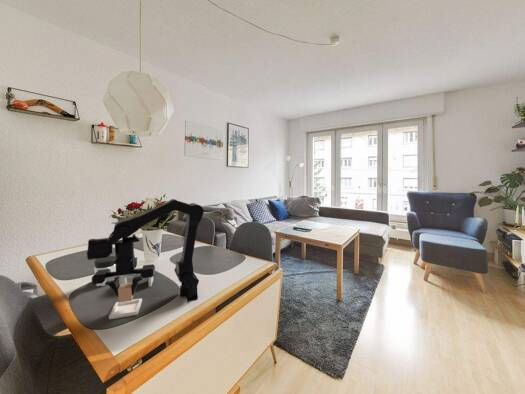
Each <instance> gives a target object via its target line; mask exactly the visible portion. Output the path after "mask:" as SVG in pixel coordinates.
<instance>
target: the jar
mask: <svg viewBox="0 0 525 394" xmlns="http://www.w3.org/2000/svg"><path fill="white" fill-rule="evenodd" d="M93 264H94V265H93V266H94V267H93V269H94V274H95V273H96V272H97V271H98V270H104V269H110V270H111V272H116V265H115V255H114V256H113V255H110V256H109V257H107V258H100V259H94V263H93ZM105 283H106V279H105V281H104V282H103V283H100V284H95V285H96V287H104V286H105V287H106V285H105Z"/></svg>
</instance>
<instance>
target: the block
mask: <svg viewBox="0 0 525 394" xmlns="http://www.w3.org/2000/svg"><path fill="white" fill-rule="evenodd" d="M134 296H135V294H134V295H133V296H132V281H131V282H127V283H123V284H121V285H120V287H119V288H118V296H117V298H118V299H117V300H118V302H126V301H132V300H133V298H134Z"/></svg>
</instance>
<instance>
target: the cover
mask: <svg viewBox="0 0 525 394" xmlns="http://www.w3.org/2000/svg"><path fill="white" fill-rule="evenodd" d="M137 269H142V267H141V268H139V267H138V268H137ZM129 278H134V275H130V276H122V277H119V284H120V285H121V284H123V283H128V279H129ZM153 282H154V276H153V277H149V278H148V287H149V288H150V287H152V285H153Z"/></svg>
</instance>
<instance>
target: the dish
mask: <svg viewBox="0 0 525 394" xmlns="http://www.w3.org/2000/svg"><path fill="white" fill-rule="evenodd" d="M142 302H143V298H134V299H132V301H126V302H119V301H116V302H115V304H114V305H113V307H112V309H111V311H110V313H109V315H108V320H114V319H115V320H116V319H120V318H126V317H132V316H138V314H139V312H140V308H141V306H142Z"/></svg>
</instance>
